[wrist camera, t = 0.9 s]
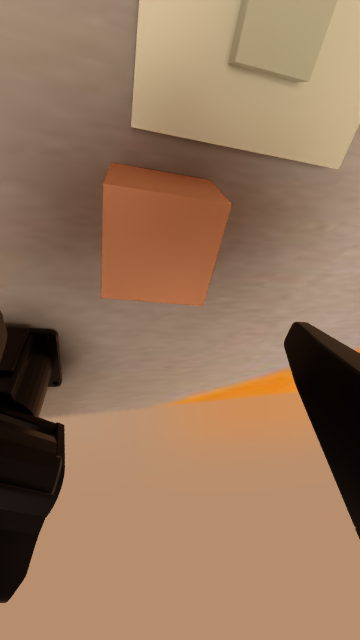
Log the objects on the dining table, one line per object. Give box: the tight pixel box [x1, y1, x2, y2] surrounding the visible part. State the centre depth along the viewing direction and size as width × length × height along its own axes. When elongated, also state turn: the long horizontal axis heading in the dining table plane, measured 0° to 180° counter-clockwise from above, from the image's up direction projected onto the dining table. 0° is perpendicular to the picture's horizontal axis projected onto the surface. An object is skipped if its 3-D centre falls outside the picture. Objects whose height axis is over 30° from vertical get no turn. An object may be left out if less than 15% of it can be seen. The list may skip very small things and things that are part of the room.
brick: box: [101, 163, 232, 306], centre depth 17 cm, size 6×6×5 cm
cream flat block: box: [131, 0, 360, 170], centre depth 13 cm, size 10×12×3 cm
